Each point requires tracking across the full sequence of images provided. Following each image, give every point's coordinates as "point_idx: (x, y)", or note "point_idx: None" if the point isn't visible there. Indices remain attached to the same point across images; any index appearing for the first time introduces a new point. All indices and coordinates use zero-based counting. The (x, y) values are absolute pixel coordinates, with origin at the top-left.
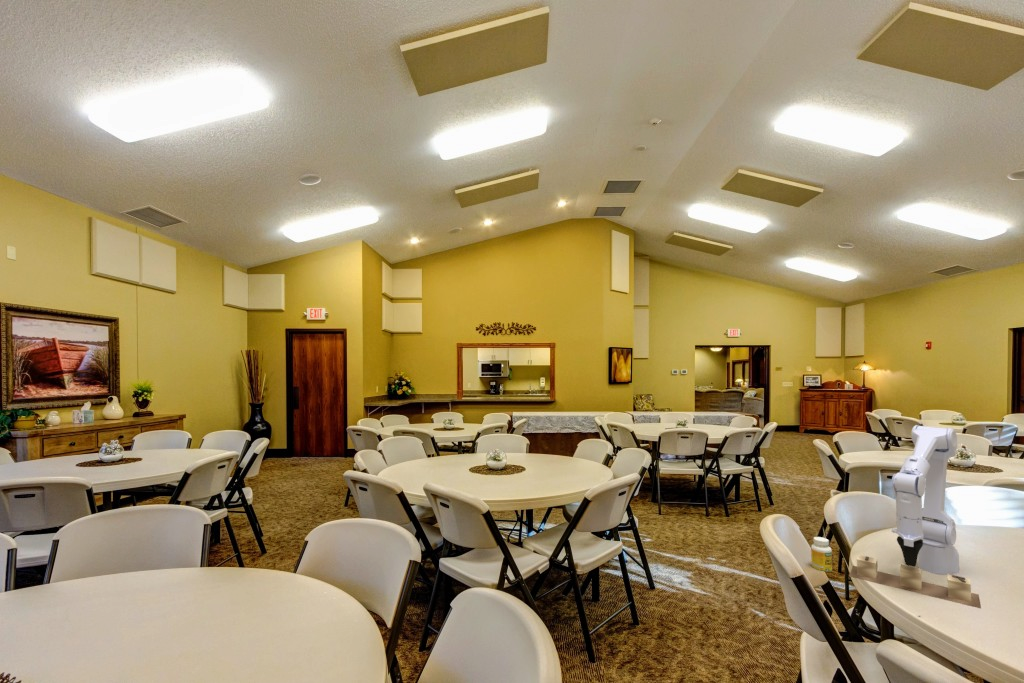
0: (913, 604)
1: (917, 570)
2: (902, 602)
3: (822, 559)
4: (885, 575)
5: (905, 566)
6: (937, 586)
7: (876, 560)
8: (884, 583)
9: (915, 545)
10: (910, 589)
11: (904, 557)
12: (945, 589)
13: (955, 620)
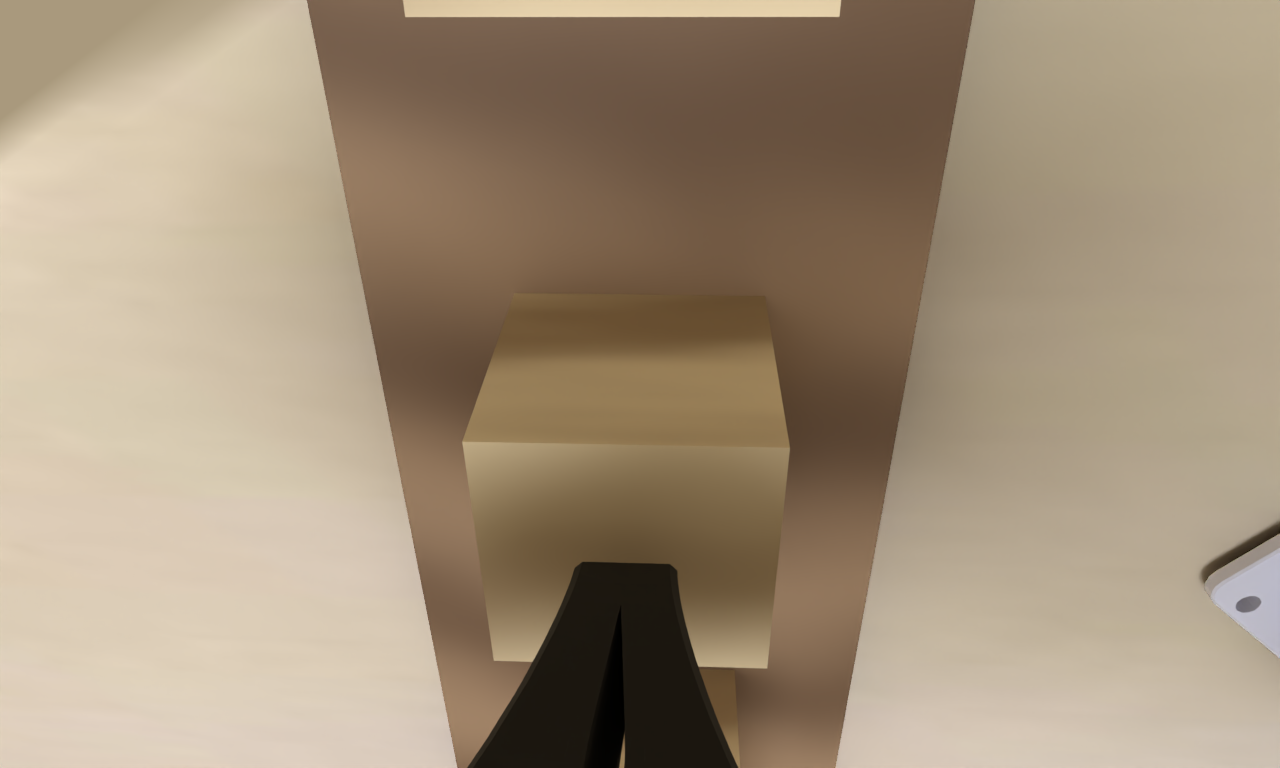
0: (114, 393)
1: None
2: (49, 299)
3: None
4: (821, 85)
5: (690, 507)
6: (810, 607)
7: (671, 14)
8: (386, 97)
9: None
10: (452, 394)
11: (531, 672)
12: None
13: (89, 648)
